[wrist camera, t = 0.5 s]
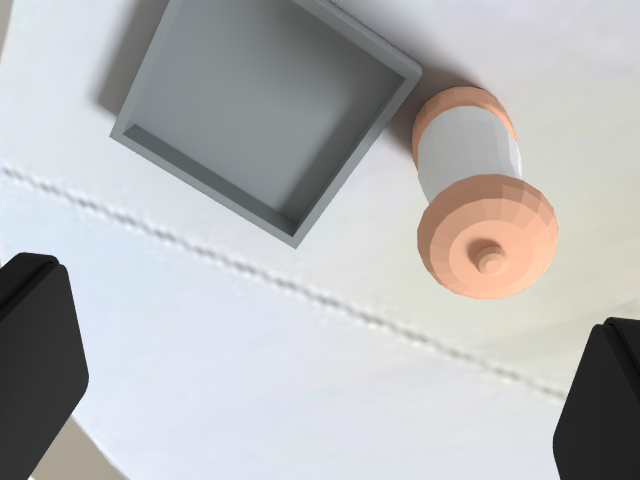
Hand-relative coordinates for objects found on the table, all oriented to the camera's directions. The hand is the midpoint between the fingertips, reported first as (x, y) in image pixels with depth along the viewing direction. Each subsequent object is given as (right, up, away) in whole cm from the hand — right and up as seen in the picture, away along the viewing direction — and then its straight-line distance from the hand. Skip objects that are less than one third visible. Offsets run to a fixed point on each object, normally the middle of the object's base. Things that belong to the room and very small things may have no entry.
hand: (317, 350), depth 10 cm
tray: (-4, +13, +34) cm, 37 cm away
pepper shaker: (+11, +10, +33) cm, 37 cm away
